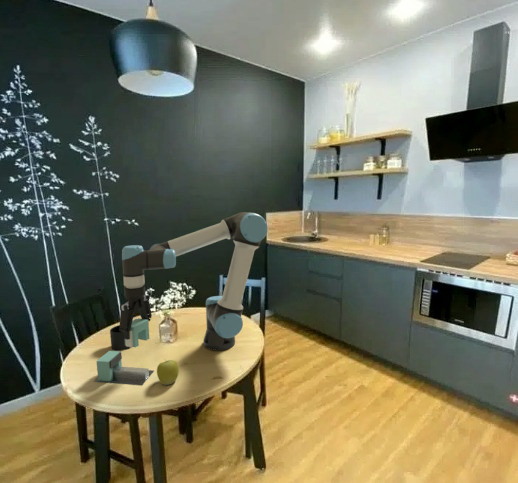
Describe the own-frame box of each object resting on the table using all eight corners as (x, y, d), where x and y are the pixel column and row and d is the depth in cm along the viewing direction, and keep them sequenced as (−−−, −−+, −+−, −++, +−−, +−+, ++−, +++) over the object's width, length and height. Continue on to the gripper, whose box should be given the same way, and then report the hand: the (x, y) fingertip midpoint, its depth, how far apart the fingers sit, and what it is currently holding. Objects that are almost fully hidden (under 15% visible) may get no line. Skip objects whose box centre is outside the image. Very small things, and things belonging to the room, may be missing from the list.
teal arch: (149, 338, 126) (148, 319, 124) (135, 347, 118) (134, 327, 117) (138, 336, 127) (137, 318, 126) (123, 345, 120) (122, 325, 119)
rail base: (154, 371, 126) (153, 363, 125) (142, 386, 116) (141, 377, 116) (108, 368, 128) (108, 360, 128) (93, 382, 119) (92, 374, 118)
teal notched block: (123, 369, 126) (121, 351, 125) (111, 381, 119) (110, 361, 117) (110, 369, 127) (109, 350, 126) (98, 380, 119) (96, 361, 118)
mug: (138, 348, 145) (136, 330, 144) (109, 352, 141) (108, 334, 140) (139, 340, 154) (138, 322, 153) (113, 343, 150) (111, 325, 149)
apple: (182, 382, 116) (172, 360, 114) (161, 391, 115) (151, 368, 113) (182, 371, 124) (173, 349, 122) (163, 379, 123) (153, 357, 121)
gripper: (144, 278, 130) (147, 329, 133) (105, 292, 111) (109, 352, 114) (159, 279, 128) (161, 332, 131) (122, 294, 108) (125, 355, 112)
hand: (137, 341), depth 123 cm, fingers closed on teal arch, 8 cm apart
